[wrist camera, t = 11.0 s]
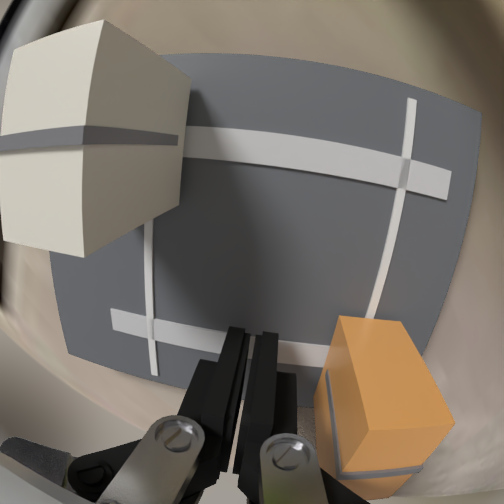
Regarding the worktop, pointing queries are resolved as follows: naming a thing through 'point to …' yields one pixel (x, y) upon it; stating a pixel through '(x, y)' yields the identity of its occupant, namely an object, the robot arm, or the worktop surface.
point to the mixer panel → (282, 222)
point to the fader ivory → (89, 139)
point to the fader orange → (376, 408)
